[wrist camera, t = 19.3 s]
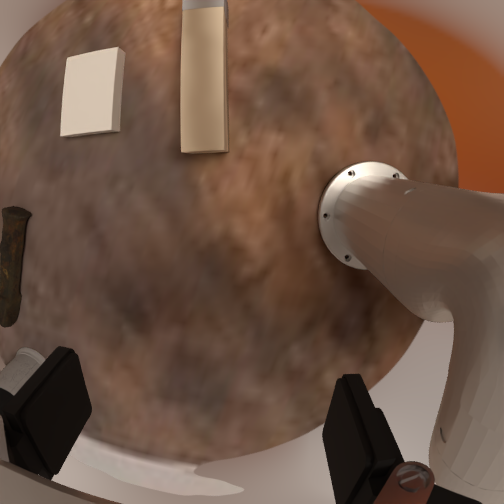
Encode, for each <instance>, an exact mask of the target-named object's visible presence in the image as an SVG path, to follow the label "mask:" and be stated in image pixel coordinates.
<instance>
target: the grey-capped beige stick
mask: <svg viewBox="0 0 504 504" xmlns="http://www.w3.org/2000/svg"><path fill="white" fill-rule="evenodd" d="M182 11H183V17H182V41H181V152H184V153H191V154H196V153H217V152H229V114H228V3H227V0H183V6H182Z"/></svg>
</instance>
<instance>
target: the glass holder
mask: <svg viewBox="0 0 504 504" xmlns="http://www.w3.org/2000/svg"><path fill="white" fill-rule="evenodd" d="M45 360H46V359H45V358H44V357H43V356H42V355H41V354H39V353H38V352H37V351H35V350H33V349H31V348H27V347H23V348H20V349H19V350H18V352H17V354H16V357H15V358H14V359H13V360H12V361H11V362H10V363H9V364H8V365H7V366H6V367H5V368H4V369H3V370H2V371H1V372H0V415H2V414H3V413H4V412H3V410H2V409H3V408H4V407H5V406H6V404H7V403H8V402H9V401H10V400H11V399H12V397H13V396H14V395H15V394H16V393H17V392H18V390H19V389H20V388H21V387H22V386H23V385H24V384H25V382H26V381H27V380H28V379H29V378H30V377H31V376H32V375H33V373H34V372H35V371H36V370H37V369H38V368H39V367H40V366H41V365H42V363H43V362H44V361H45Z"/></svg>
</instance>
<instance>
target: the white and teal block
mask: <svg viewBox="0 0 504 504" xmlns="http://www.w3.org/2000/svg"><path fill="white" fill-rule="evenodd" d="M124 62H125V52H124V51H122V50H121V49H120V48H119V47H115V48H110V49H104V50H99V51H95V52H90V53H85V54H81V55H77V56H73V57H69V58H67V63H66V71H65V79H64V89H63V100H62V114H61V135H60V136H64V137H75V136H83V135H91V134H100V133H109V132H120V115H121V97H122V84H123V72H124Z"/></svg>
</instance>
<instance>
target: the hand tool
mask: <svg viewBox="0 0 504 504" xmlns="http://www.w3.org/2000/svg"><path fill="white" fill-rule="evenodd" d="M30 216H31V212H29V211H27V210H25V209H23V208H20V207H14V206H13V207H7V208H3V209H2V217H3V231H2V241H1V244H0V253H1V256H0V325H1V326H2V327H11V326H12V325H13V324H14V323H15V322H16V320H17V317H18V314H19V309H20V302H21V297H22V296H21V293H20V292H19V283H20V274H21V259H22V252H23V246H24V234H25V225H26V221H27V219H28V218H29V217H30Z"/></svg>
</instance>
